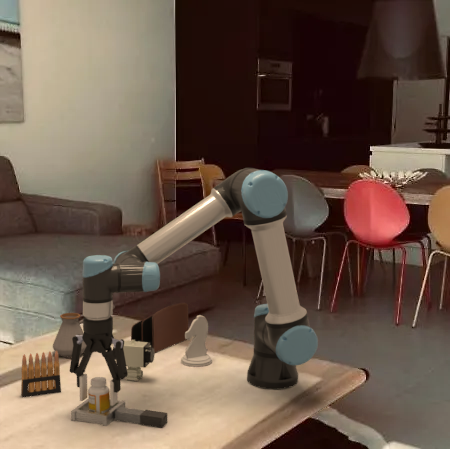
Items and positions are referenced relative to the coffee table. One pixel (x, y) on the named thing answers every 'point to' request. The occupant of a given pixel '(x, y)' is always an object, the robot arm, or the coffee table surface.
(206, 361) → the chess piece
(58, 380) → the ammunition clip
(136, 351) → the pneumatic valve
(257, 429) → the coffee table surface
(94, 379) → the supplement bottle
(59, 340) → the coffee pot
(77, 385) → the robot arm
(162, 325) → the letter holder
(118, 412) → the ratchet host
